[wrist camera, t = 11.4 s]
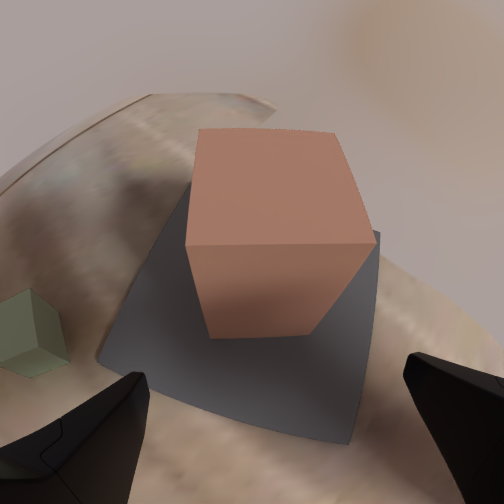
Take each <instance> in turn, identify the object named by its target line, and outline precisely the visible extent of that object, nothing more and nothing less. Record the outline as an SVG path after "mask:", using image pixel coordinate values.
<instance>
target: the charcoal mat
mask: <svg viewBox="0 0 504 504" xmlns="http://www.w3.org/2000/svg"><path fill="white" fill-rule="evenodd" d="M191 185H192V182H191V183H190V185H189V187H188V188H187V190H186V192H185V193H184V195H183V196H182V198H181V200H180V201H179V203H178V205H177V206H176V208H175V210H174V211H173V213H172V215H171V216H170V218H169V220H168V221H167V223H166V225H165V227H164V228H163V230H162V232H161V234H160V235H159V237H158V239H157V241H156V242H155V244H154V246H153V248H152V250H151V251H150V253H149V255H148V257H147V259H146V261H145V263H144V264H143V266H142V268H141V270H140V272H139V274H138V276H137V278H136V280H135V282H134V283H133V285H132V287H131V289H130V291H129V293H128V295H127V297H126V299H125V301H124V303H123V305H122V307H121V310H120V312H119V314H118V316H117V318H116V320H115V322H114V324H113V326H112V328H111V331H110V333H109V335H108V337H107V339H106V342H105V344H104V346H103V348H102V351H101V353H100V355H99V358H98V360H97V363H99V364H101V365H103V366H105V367H107V368H108V369H110V370H112V371H114V372H116V373H118V374H120V375H122V376H126V375H127V374H129V373H130V372H132V371H136V372H143V373H145V375H146V379H147V383H148V388H150V389H152V390H155V391H157V392H159V393H162V394H164V395H166V396H169V397H171V398H174V399H176V400H179V401H181V402H184V403H187V404H189V405H192V406H195V407H197V408H200V409H203V410H206V411H209V412H212V413H215V414H218V415H221V416H224V417H227V418H230V419H233V420H237V421H240V422H243V423H247V424H250V425H254V426H258V427H261V428H265V429H269V430H273V431H277V432H282V433H286V434H290V435H295V436H300V437H305V438H310V439H315V440H321V441H327V442H333V443H340V444H347V445H349V443H350V439H351V435H352V431H353V428H354V424H355V419H356V415H357V411H358V407H359V402H360V398H361V393H362V388H363V383H364V378H365V373H366V367H367V361H368V355H369V349H370V343H371V336H372V328H373V321H374V312H375V303H376V293H377V282H378V269H379V253H380V251H379V250H380V232H378V231H374V230H373V233H374V236H375V239H376V242H377V244H376V245H375V247H374V248H373V250H372V251H371V253H370V254H369V256H368V257H367V259H366V260H365V262H364V263H363V264H362V266H361V267H360V269H359V270H358V271H357V273H356V274H355V276H354V277H353V278H352V280H351V281H350V283H349V284H348V285H347V287H346V288H345V289H344V291H343V292H342V293H341V295H340V296H339V297H338V299H337V300H336V301H335V303H334V304H333V305H332V307H331V308H330V309H329V311H328V312H327V313H326V314H325V316H324V317H323V318H322V319H321V321H320V322H319V323H318V325H317V326H316V327H315V328H314V330H313V331H312V332H311V333H310V334H309V335H300V336H284V337H265V338H235V339H210V336H209V333H208V329H207V326H206V322H205V319H204V315H203V312H202V308H201V305H200V301H199V297H198V294H197V290H196V286H195V282H194V278H193V275H192V271H191V267H190V263H189V259H188V255H187V251H186V246H185V243H186V232H187V222H188V212H189V203H190V194H191Z"/></svg>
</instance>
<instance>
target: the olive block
mask: <svg viewBox="0 0 504 504" xmlns="http://www.w3.org/2000/svg"><path fill="white" fill-rule="evenodd" d="M68 363H70V360H69V356H68V352H67V348H66V344H65V340H64V336H63V331H62V327H61V322H60V317H59V312H58V311H57V310H56V309H55V308H53V307H52V306H51V305H50V304H48V303H47V302H46V301H45V300H44V299H43V298H41V297H40V296H39V295H38V294H37V293H36V292H34V291H33V290H32V289H31V288H28V289H26V290H24V291H22V292H20V293H18V294H16V295H14V296H12V297H11V298H9V299H7V300H5V301H3V302H1V303H0V367H2V368H5V369H7V370H10V371H12V372H15V373H17V374H20V375H22V376H25V377H28V378H32V377H34V376H37V375H39V374H42V373H45V372H47V371H50V370H53V369H55V368H58V367H60V366H63V365H65V364H68Z"/></svg>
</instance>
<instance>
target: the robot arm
mask: <svg viewBox="0 0 504 504" xmlns="http://www.w3.org/2000/svg"><path fill="white" fill-rule="evenodd" d="M403 377H404V380H405V383H406V385H407V387H408V389H409V392H410V394H411V396H412V398H413V401H414V403H415V405H416V408H417V410H418V412H419V413H420V415H421V417H422V419H423V421H424V422H425V424H426V426H427V428H428V430H429V431H430V433H431V435H432V437H433V439H434V441H435V443H436V444H437V446H438V448H439V450H440V452H441V454H442V456H443V458H444V460H445V462H446V464H447V466H448V468H449V470H450V472H451V474H452V476H453V478H454V480H455V482H456V484H457V486H458V488H459V490H460V492H461V495H462V497H463V499H464V501H465V503H466V504H504V378H501V377H498V376H494V375H491V374H488V373H484V372H481V371H478V370H474V369H471V368H468V367H465V366H461V365H458V364H455V363H452V362H449V361H446V360H443V359H439V358H436V357H433V356H430V355H427V354H424V353H421V352H415V353H411V354H409V356H408V358H407V361H406V365H405V368H404V372H403ZM149 400H150V392H149V388H148V383H147V379H146V375H145V373H143V372H136V371H132V372H130V373H129V374H127V375H126V376H124V377H123V378H121V379H120V380H118V381H117V382H115V383H114V384H112V385H110V386H109V387H107V388H106V389H104V390H103V391H101V392H100V393H98V394H97V395H95V396H93V397H92V398H90V399H89V400H87V401H86V402H84V403H82V404H81V405H79V406H78V407H76V408H74V409H73V410H71V411H70V412H68V413H66V414H65V415H63V416H62V417H61V419H60V418H58V419H57V420H55V421H53V422H52V423H50V424H48V425H47V426H45V427H43V428H41V429H40V430H38V431H36V432H34V433H32V434H29V435H27V436H25V437H23V438H21V439H19V440H16V441H14V442H12V443H10V444H7V445H5V446H3V447H1V448H0V504H127V503H128V499H129V494H130V490H131V486H132V482H133V478H134V474H135V470H136V466H137V462H138V458H139V454H140V450H141V447H142V443H143V439H144V434H145V428H146V420H147V413H148V406H149Z"/></svg>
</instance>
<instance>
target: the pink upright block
mask: <svg viewBox="0 0 504 504" xmlns="http://www.w3.org/2000/svg"><path fill="white" fill-rule="evenodd" d="M376 244H377V242H376V239H375V236H374V233H373V230H372V227H371V224H370V221H369V218H368V215H367V212H366V210H365V207H364V204H363V201H362V198H361V196H360V193H359V191H358V188H357V185H356V183H355V180H354V178H353V175H352V173H351V170H350V168H349V165H348V163H347V160H346V158H345V156H344V153H343V151H342V149H341V146H340V144H339V142H338V139H337V137H336V135H335V133H325V132H315V131H301V130H282V129H251V128H223V129H199V134H198V140H197V147H196V154H195V162H194V169H193V177H192V185H191V194H190V203H189V212H188V222H187V232H186V243H185V246H186V251H187V255H188V259H189V263H190V267H191V271H192V275H193V278H194V282H195V286H196V290H197V294H198V297H199V301H200V305H201V308H202V312H203V315H204V319H205V322H206V326H207V329H208V333H209V336H210V339H235V338H265V337H284V336H300V335H309V334H310V333H311V332H312V331H313V330H314V328H315V327H316V326H317V325H318V323H319V322H320V321H321V319H322V318H323V317H324V316H325V314H326V313H327V312H328V311H329V309H330V308H331V307H332V305H333V304H334V303H335V301H336V300H337V299H338V297H339V296H340V295H341V293H342V292H343V291H344V289H345V288H346V287H347V285H348V284H349V283H350V281H351V280H352V278H353V277H354V276H355V274H356V273H357V271H358V270H359V269H360V267H361V266H362V264H363V263H364V262H365V260H366V259H367V257H368V256H369V254H370V253H371V251H372V250H373V248H374V247H375V245H376Z"/></svg>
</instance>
